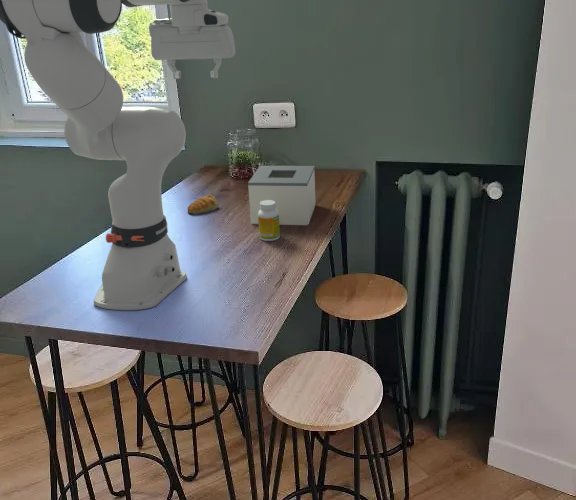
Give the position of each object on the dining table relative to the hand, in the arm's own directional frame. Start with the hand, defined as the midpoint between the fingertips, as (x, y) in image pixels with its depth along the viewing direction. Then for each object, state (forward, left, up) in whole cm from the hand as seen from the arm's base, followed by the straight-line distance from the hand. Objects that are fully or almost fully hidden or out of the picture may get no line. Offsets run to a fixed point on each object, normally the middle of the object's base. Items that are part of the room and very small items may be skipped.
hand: (196, 78), depth 147 cm
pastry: (+16, +7, -41) cm, 44 cm away
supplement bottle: (-4, -17, -40) cm, 44 cm away
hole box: (+13, -18, -40) cm, 46 cm away
